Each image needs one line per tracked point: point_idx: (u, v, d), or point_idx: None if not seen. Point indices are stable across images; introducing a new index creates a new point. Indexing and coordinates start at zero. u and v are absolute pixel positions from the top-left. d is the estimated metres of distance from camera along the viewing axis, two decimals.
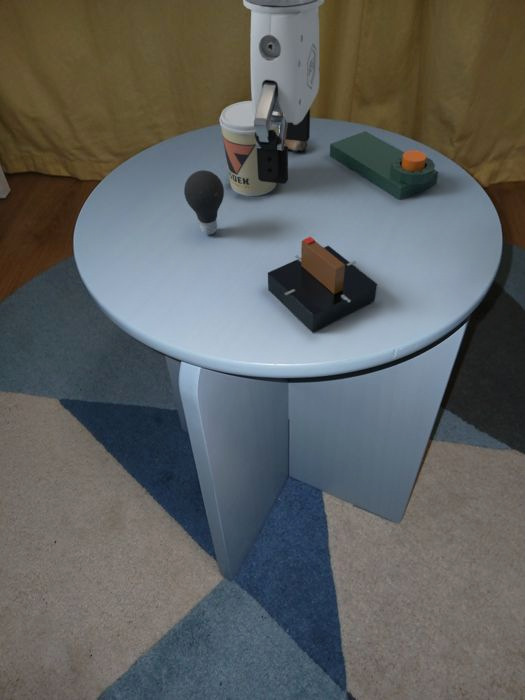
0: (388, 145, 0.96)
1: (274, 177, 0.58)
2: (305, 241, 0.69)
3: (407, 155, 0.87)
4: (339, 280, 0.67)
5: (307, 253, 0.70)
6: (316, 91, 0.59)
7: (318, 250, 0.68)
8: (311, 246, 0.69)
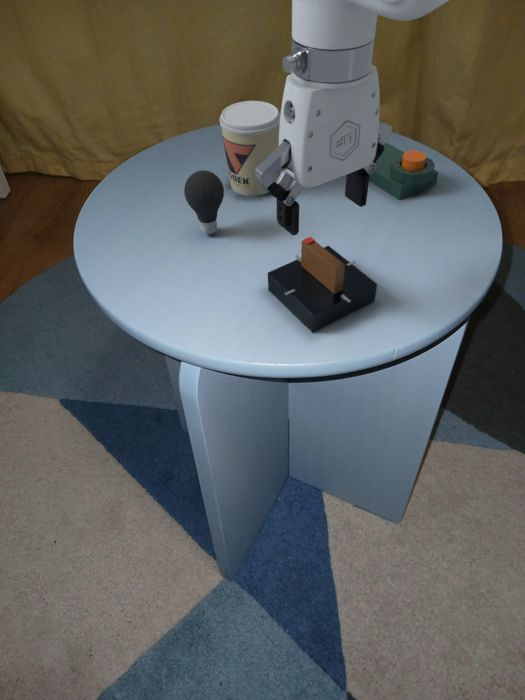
0: (388, 145, 0.96)
1: (283, 226, 0.61)
2: (305, 241, 0.69)
3: (407, 155, 0.87)
4: (339, 280, 0.67)
5: (307, 253, 0.70)
6: (362, 164, 0.59)
7: (318, 250, 0.68)
8: (311, 246, 0.69)
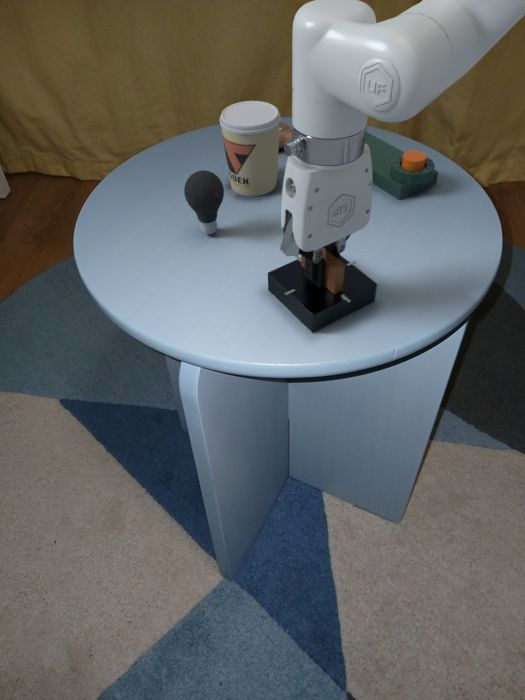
0: (388, 145, 0.96)
1: (310, 279, 0.69)
2: None
3: (407, 155, 0.87)
4: (339, 280, 0.67)
5: None
6: (357, 228, 0.64)
7: None
8: None
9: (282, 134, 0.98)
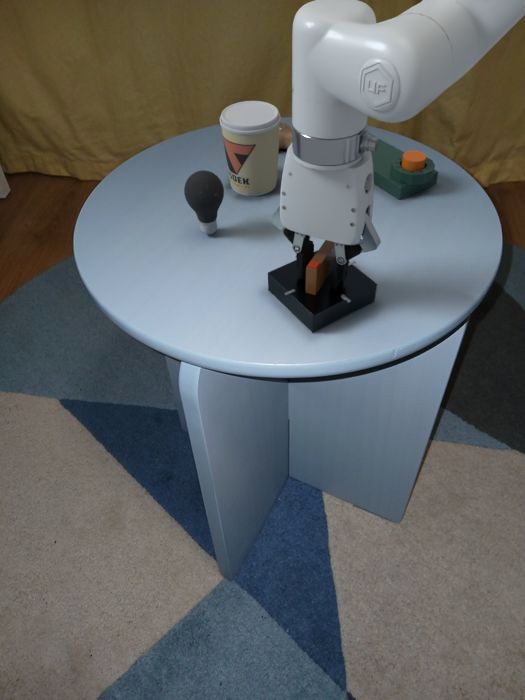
0: (388, 145, 0.96)
1: (346, 275, 0.69)
2: (317, 266, 0.66)
3: (407, 155, 0.87)
4: None
5: (320, 271, 0.67)
6: None
7: (322, 255, 0.67)
8: (319, 261, 0.67)
9: (282, 134, 0.98)
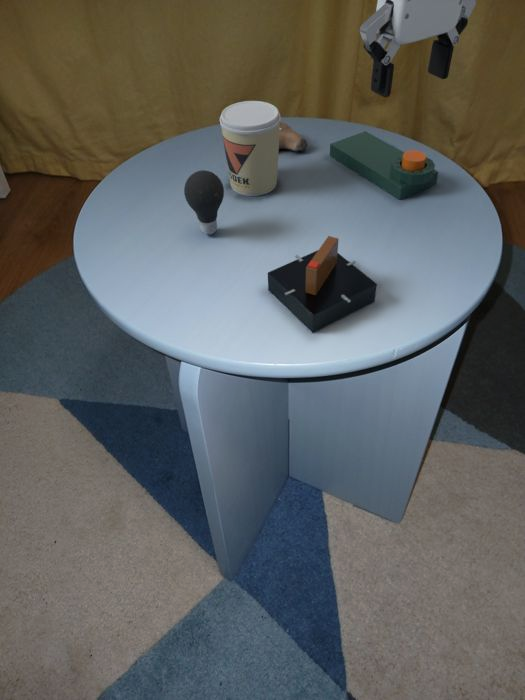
0: (388, 145, 0.96)
1: None
2: (317, 266, 0.66)
3: (407, 155, 0.87)
4: None
5: (320, 271, 0.67)
6: None
7: (322, 255, 0.67)
8: (319, 261, 0.67)
9: (282, 134, 0.98)
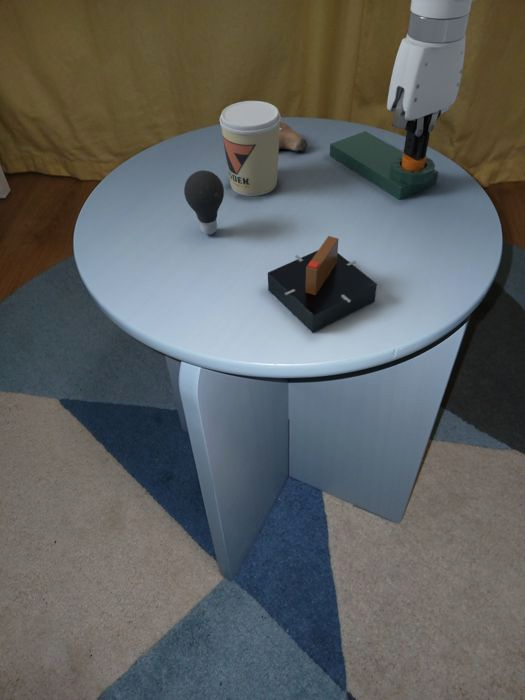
0: (388, 145, 0.96)
1: None
2: (317, 266, 0.66)
3: None
4: None
5: (320, 271, 0.67)
6: None
7: (322, 255, 0.67)
8: (319, 261, 0.67)
9: (282, 134, 0.98)
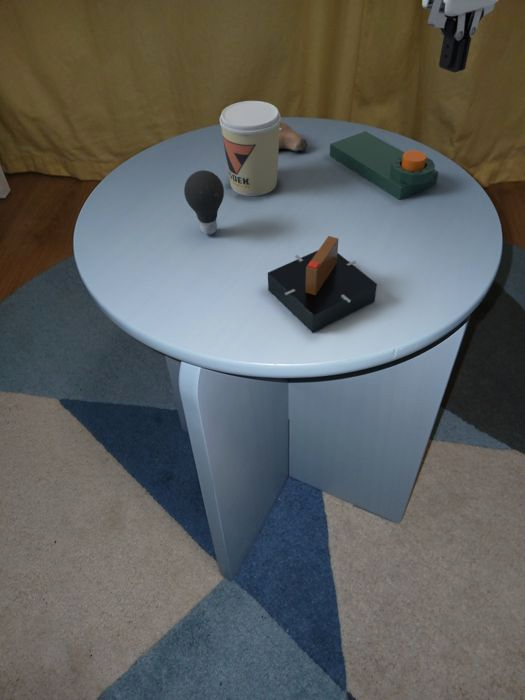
0: (388, 145, 0.96)
1: None
2: (317, 266, 0.66)
3: (407, 155, 0.87)
4: None
5: (320, 271, 0.67)
6: None
7: (322, 255, 0.67)
8: (319, 261, 0.67)
9: (282, 134, 0.98)
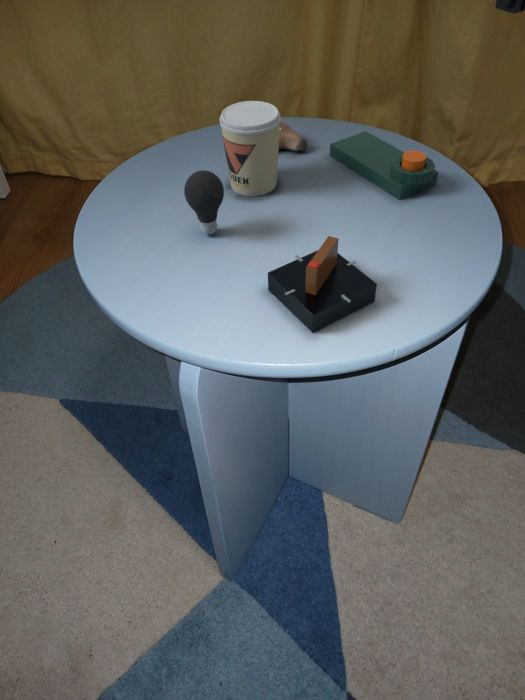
0: (388, 145, 0.96)
1: None
2: (317, 266, 0.66)
3: (407, 155, 0.87)
4: None
5: (320, 271, 0.67)
6: None
7: (322, 255, 0.67)
8: (319, 261, 0.67)
9: (282, 134, 0.98)
